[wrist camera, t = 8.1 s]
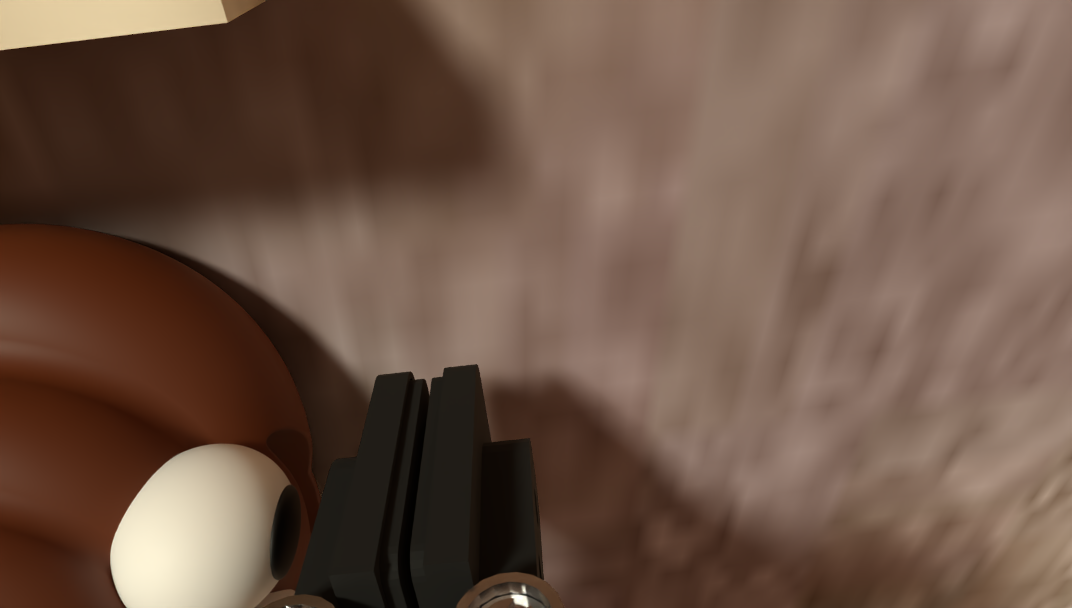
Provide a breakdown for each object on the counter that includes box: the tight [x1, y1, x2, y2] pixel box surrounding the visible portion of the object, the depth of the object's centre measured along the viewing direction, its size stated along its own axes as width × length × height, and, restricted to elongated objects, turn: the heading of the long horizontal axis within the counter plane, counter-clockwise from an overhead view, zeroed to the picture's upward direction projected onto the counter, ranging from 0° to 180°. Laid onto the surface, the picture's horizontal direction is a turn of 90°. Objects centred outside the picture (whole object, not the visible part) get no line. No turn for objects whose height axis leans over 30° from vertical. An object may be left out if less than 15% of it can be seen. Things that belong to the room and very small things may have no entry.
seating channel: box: [0, 0, 266, 50], centre depth 12 cm, size 12×17×4 cm
